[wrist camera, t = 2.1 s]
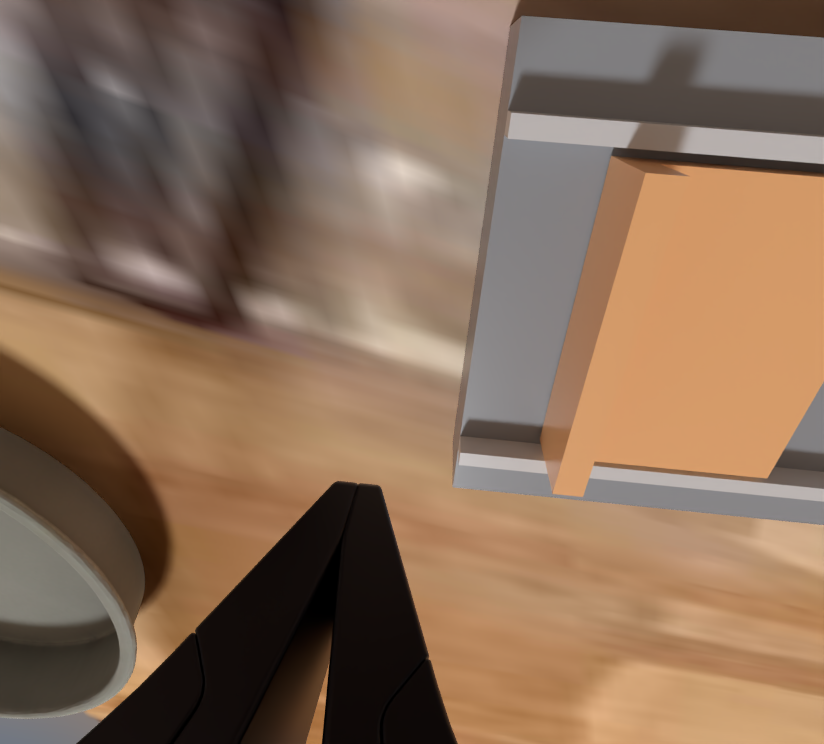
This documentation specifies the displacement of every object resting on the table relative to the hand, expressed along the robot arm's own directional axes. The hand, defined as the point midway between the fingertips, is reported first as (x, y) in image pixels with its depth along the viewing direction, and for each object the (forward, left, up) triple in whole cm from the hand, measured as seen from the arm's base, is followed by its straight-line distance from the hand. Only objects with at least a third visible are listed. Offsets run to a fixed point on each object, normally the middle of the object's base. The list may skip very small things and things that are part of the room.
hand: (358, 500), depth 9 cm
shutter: (-9, 0, -9) cm, 13 cm away
